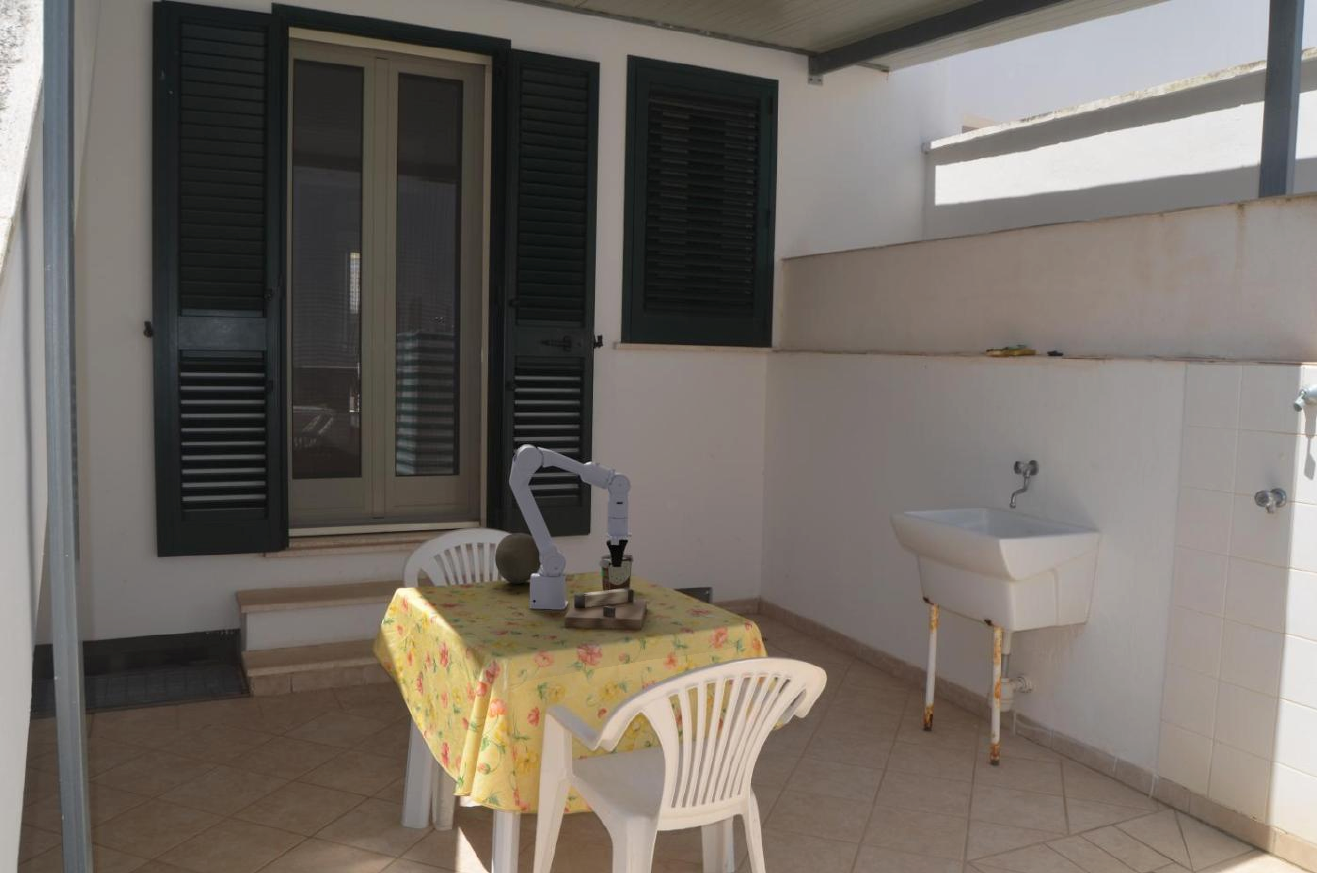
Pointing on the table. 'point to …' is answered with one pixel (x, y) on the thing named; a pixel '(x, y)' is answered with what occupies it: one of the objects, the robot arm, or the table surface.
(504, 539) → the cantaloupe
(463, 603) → the table surface
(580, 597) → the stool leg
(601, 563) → the food container
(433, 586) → the table surface
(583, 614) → the stool seat
